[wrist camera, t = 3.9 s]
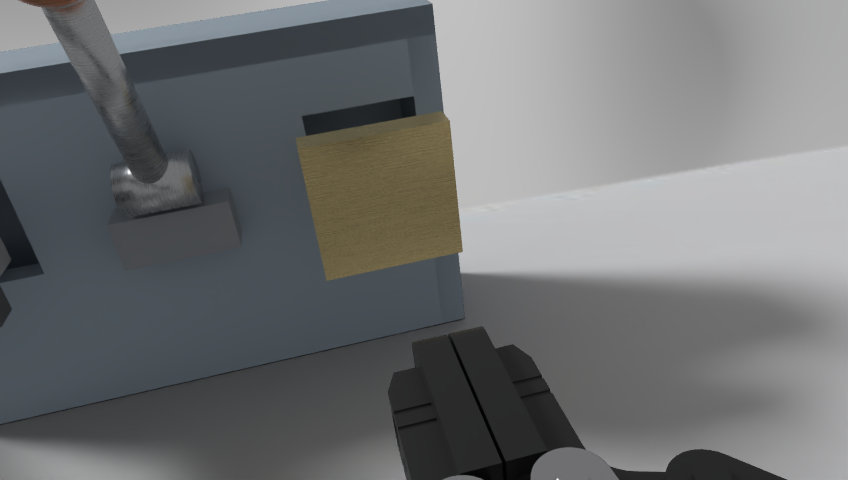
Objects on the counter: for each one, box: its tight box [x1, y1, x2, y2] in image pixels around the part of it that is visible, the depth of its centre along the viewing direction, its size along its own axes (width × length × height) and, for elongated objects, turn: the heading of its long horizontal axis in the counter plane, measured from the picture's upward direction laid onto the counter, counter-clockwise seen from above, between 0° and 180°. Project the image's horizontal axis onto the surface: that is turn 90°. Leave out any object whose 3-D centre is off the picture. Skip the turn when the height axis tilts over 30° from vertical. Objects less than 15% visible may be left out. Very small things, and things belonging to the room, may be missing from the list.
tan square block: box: [296, 111, 463, 281], centre depth 23 cm, size 5×4×5 cm
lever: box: [19, 0, 203, 218], centre depth 18 cm, size 3×3×10 cm
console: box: [0, 0, 465, 424], centre depth 25 cm, size 20×5×13 cm, turn 102°
